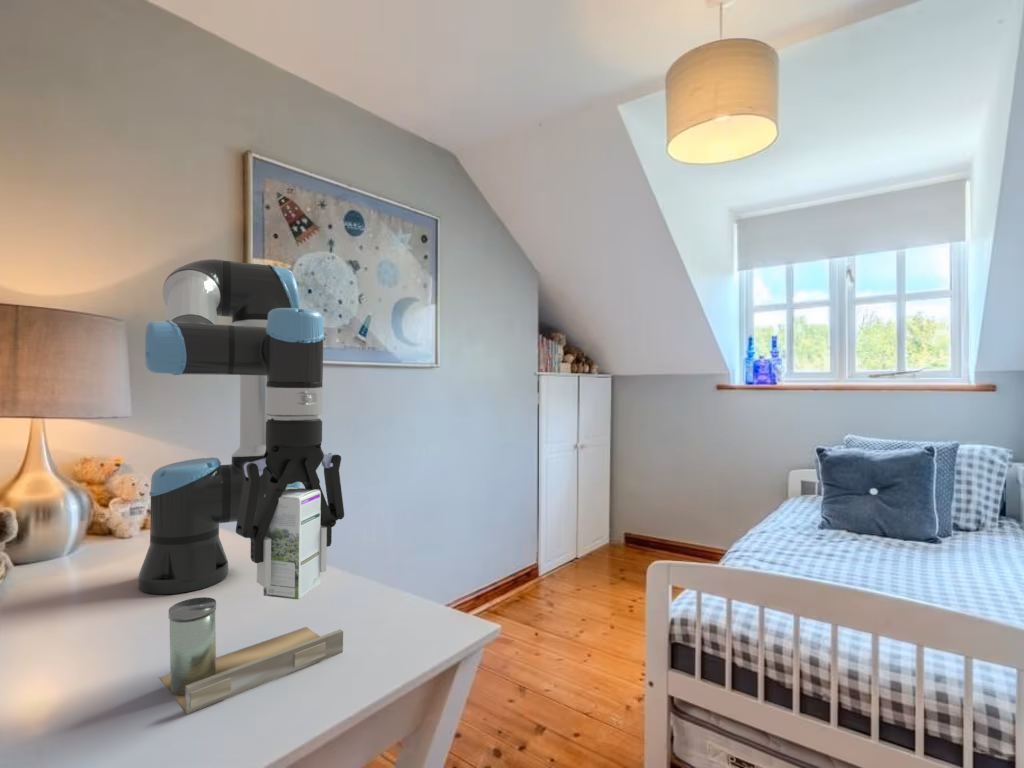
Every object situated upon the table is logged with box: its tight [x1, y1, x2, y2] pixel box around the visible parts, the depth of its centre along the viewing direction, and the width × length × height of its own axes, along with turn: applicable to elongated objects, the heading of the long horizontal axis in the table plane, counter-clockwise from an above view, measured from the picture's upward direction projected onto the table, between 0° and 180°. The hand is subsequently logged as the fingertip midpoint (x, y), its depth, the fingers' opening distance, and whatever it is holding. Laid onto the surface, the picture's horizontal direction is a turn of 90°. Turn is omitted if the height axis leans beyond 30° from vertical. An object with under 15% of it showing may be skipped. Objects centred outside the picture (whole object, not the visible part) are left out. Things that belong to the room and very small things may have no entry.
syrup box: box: [263, 487, 321, 600], centre depth 77 cm, size 6×6×14 cm
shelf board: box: [159, 626, 344, 715], centre depth 74 cm, size 11×20×4 cm, turn 137°
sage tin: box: [168, 596, 217, 696], centre depth 69 cm, size 5×5×10 cm
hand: (292, 576), depth 77 cm, fingers closed on syrup box, 7 cm apart
